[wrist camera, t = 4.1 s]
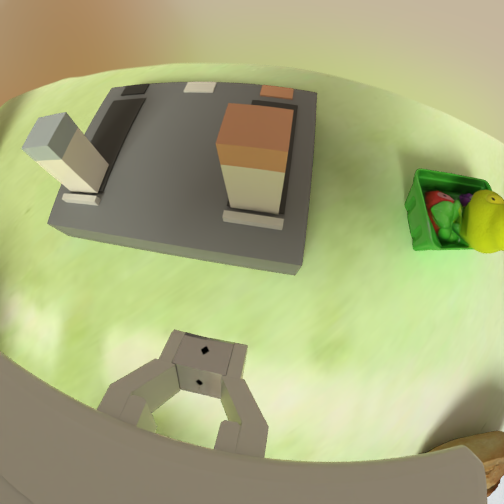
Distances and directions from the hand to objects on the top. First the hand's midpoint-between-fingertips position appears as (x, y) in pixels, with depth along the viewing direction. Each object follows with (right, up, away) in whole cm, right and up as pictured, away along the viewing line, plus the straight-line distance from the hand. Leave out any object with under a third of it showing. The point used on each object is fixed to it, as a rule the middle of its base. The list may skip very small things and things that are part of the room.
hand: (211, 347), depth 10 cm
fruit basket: (+22, +6, +14) cm, 27 cm away
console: (-5, +12, +16) cm, 21 cm away
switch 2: (+2, +8, +10) cm, 13 cm away
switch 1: (-14, +11, +11) cm, 21 cm away
